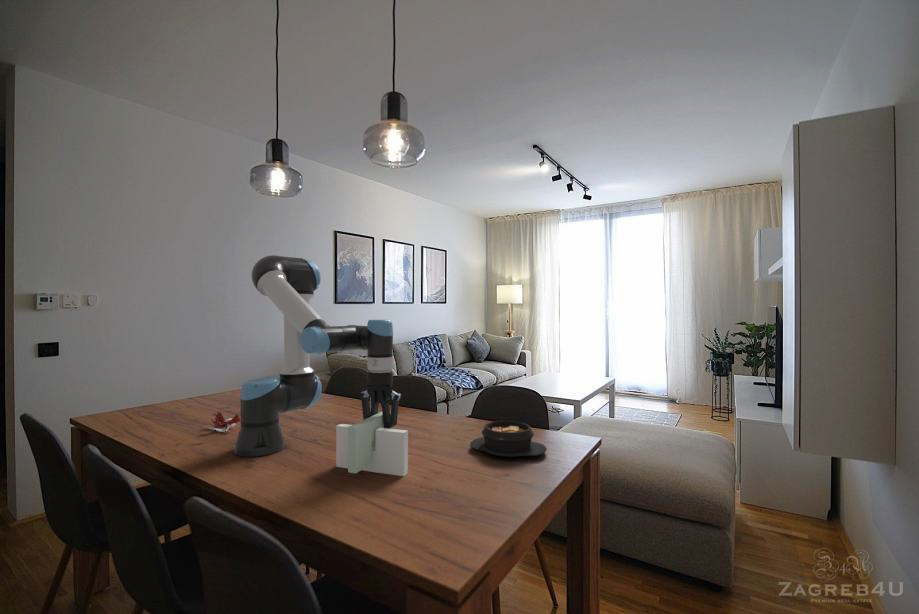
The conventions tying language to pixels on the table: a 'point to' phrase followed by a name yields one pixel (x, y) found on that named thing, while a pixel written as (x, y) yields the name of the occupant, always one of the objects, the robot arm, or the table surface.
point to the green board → (362, 442)
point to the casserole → (508, 440)
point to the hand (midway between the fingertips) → (380, 449)
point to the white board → (378, 451)
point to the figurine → (224, 422)
